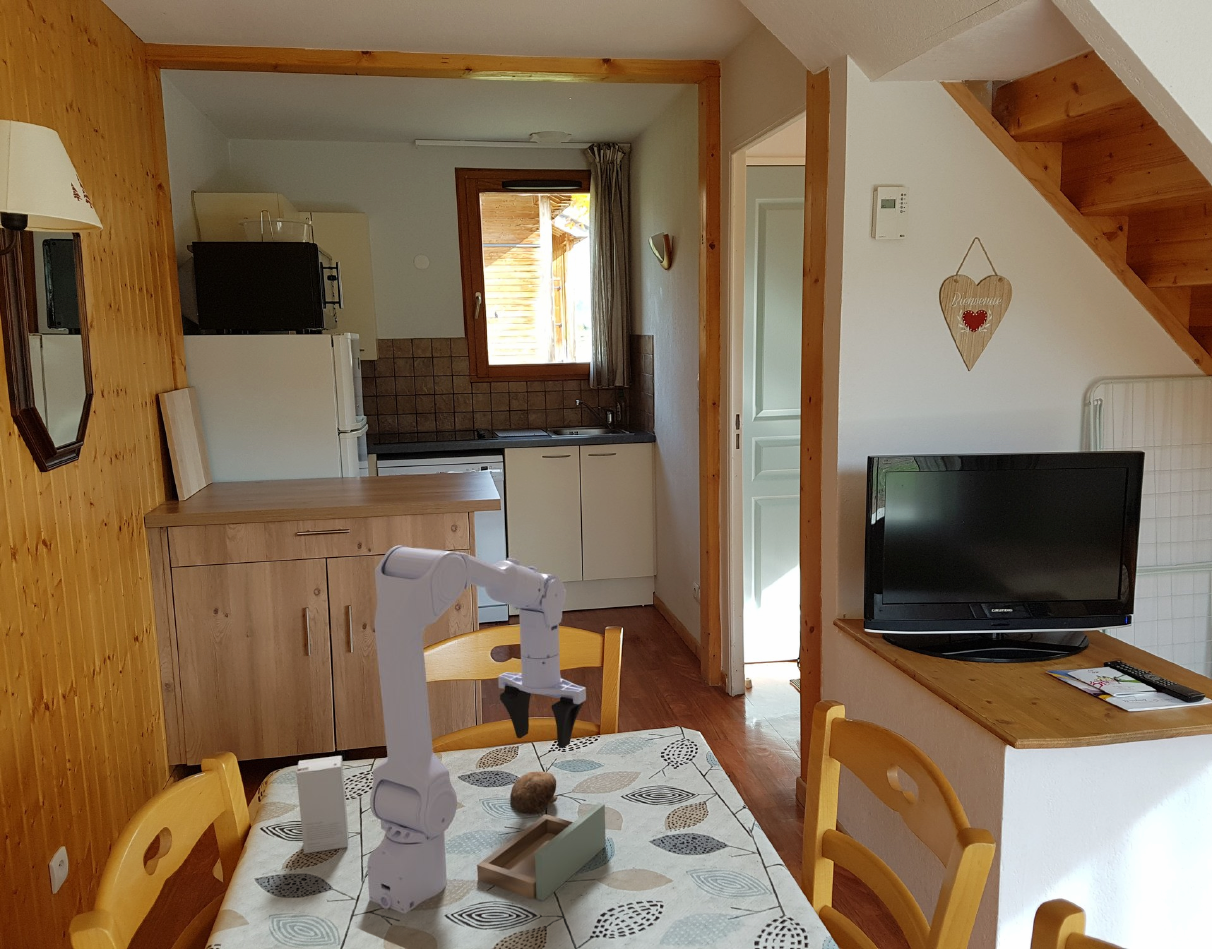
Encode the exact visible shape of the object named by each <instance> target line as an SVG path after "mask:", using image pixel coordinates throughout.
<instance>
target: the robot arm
mask: <svg viewBox="0 0 1212 949" xmlns="http://www.w3.org/2000/svg"><path fill="white" fill-rule="evenodd" d="M520 564H521V560H519V559H517V558H511V557H507V558H506V560H499V561H497V562H495V563H494V564H492V563H489V562H487V561H485V560H482V559H480V558H477V557H475V556H472V555H470V554H469V553H466V552H457V551H450V550H440V549H430V548H422V547H409V546H405V545H400V544H399V545H396V546H393V547H392V548H390V549H389V550H388V551H387V552H386V553H385V554H384V556H383V557H382V558H381V560H380V562H379V564H377V566H376V568H375V570H374V579H375V580H374V581H375V588H376V597H377V598H376V599H377V605H376V608H375V609H376V610H375V617H374V634H375V643H376V644H375V645H376V653H377V654H376V655H377V662H378V664H377V665H378V674H379V675H378V676H379V684H380V694H381V703H382V712H383V724H384V734H385V743H386V751H387V753H386V754H387V757H385V758H384V759H382V760H381V761H380V762H378V764H377V765H376V766H375V767H374V768H373V770H372V780H373V782H372V789H371V793H370V797H369V807H370V811H371V813H372V815H373V816H374V817H375V818H376V819H377V820H380V828H381V830H383V831H384V832H385V833H384V836H383V839H382V840H381V841H380V843H379V844H378V846H377V847H376V848H375V849H374V850H373V851H372V852H371V853H370V854H369V856H368V858H367V879H368V882H367V883H368V895H369V899H368V900H369V901H370V902H373V903H375V904H378V905H380V906H381V907H382V908H383V909H386V910H388V909H391V910H393V911H396V912H398V913H401V914H404V915H405V914H407V913H409V912H410V911H411V910H413V909H414V908H416V907H417V906H418V905H419V904H421V903H422V902H424V901H426V900H428V899H430V898H433V897H434V896H437V895H438V894H439V893H441V892H442V891H443V890H444V889H445V888H446V886H447V883H448V882H447V878H448V877H447V876H448V875H447V862H446V861H447V858H446V838H445V836H446V835H445V832H446V831H447V829H449V827H450V825H451V824H452V822H453V821H454V818H455V815H456V814H457V808H458V797H457V792H456V790H455V788H454V787H453V785H452V783H451V778H450V771H449V769H448V768H447V767H446V765H445V764H444V763H443V762H442V761H441V760H440V759H439V757H437V755H436V754H435V753H434V751H433V739H432V737H433V736H432V726H431V716H430V707H429V706H430V705H429V695H428V685H427V682H428V681H427V673H426V672H427V671H426V663H425V662H426V661H425V652H424V650H425V649H424V640H423V632H424V630H425V629H426V628H427V627H428V626H431V625H434V624H435V623H436V622H437V621H438V620H439V619H440V617H441V616H443V615H444V613H446V611H447V610H448V609H449V608H451V607H452V606H453V605H454V603H455V602H456V601H457V600H458V599H459V597H460V596H461V595H462V593H463V592H464V590H467V589H469V587H470V585H471V586H472V585H473V586H477V587H480V588H484V590H485V592H486V594H487V596H488V597H489V598H490V599H491V600H493V601H496V602H499V603H502V604H505V605H509V606H512V608H513V609H514V610H515V611H517V610H519V612H518V614H519V638H520V641H519V642H520V666H521V668H520V669H521V672H520V673H517V672H509V671H506V672H503V673H501V674H499V675H498V676H497V679H498V680H497V681H498V688H499V689H504V690H503V692H502V693H500V694H499V700H500V701H501V704H503V705H504V707H505V709H506V711H507V712H508V716H509V717H510V721H511V723H512V725H513V729H514V733H515V736H516V738H517V739H522V738H523V737H525V736H526V735H528V734H529V728H530V720H529V719H530V716H529V712H530V711H529V710H530V701H531V700H530V699H531V695H532V694H535V695H542V696H547V697H552V698H555V699H559V700H558V701H557V702H555V703H553V704H552V705H551V706H550V707H551V710H552V712H553V717H554V721H555V725H556V740H557V746H558V749H564V748H566V747H567V746H569V745H570V744H571V738H572V735H573V730H574V727H575V723H576V720H577V717H578V715H579V713H580V711H581V709H582V706H583V705H584V703H585V701H586V700H587V687H585V686H582V685H577V684H575V683H573V682H571V681H569V680H566V679H564V678H562V674H561V664H560V663H561V662H560V660H561V659H560V656H561V654H560V627H559V626H560V625H559V624H560V623H562V619H563V608H564V605H565V602H566V597H567V589H565V585H564V582H563V581H562V580H561V579H560V578H559V577H558V576H557V575H555V574H548V573H540V572H538V571H539V569H538V568H537V567H535V566H530V565H529V566H527V567H526V566H523V565H520Z"/></svg>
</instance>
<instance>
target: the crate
mask: <svg viewBox="0 0 1212 949" xmlns="http://www.w3.org/2000/svg"><path fill="white" fill-rule="evenodd" d="M573 822H574V821H570V820H566V819H564V818H560V817H557V816H553V815H550V814H543V815H542V816H541V817H539V818H538V819H537V820H535V821H534V822H533V823H531V824H530V825H529V826H527V827H526V828H524V829H523V830H522V831H520V832H519V833H518V834H517V835H515V836H514V837H513V838H511V839H510V840H509V841H507V842H506V843H504V844H503V845H502V846H501V847H499V848H497V850H495V851H494V852H492V853H491V854H490V855H488V856H487V857H486V858H485V859H483V860H482V861H480V862H479V863H478V864H477V865H476V868H477V872H476V873H477V881H480V882H483V883H486V884H488V885H490V886H494V887H497V888H500V889H502V890H505V891H509V892H511V893H515V894H517V895H519V896H523V897H526V898H528V899H531V900H535V899H537V896H536V868H535V852H537V851H538V850H539V849H540V848H542V847H543V846H544V845H545V844H547V843H548V842H549V841H550V840H552V839H553V838H554V837H555V836H557V835H558V834H559V833H560V832H562V831H563V830H564V829H566V828H567V827H568V826H569V825H571V824H572V823H573Z"/></svg>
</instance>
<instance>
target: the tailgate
mask: <svg viewBox="0 0 1212 949" xmlns="http://www.w3.org/2000/svg"><path fill="white" fill-rule="evenodd" d="M605 806H606V805H605V803H602V802H597V803H596V804H594V805H593V806H592V807H590V809H588V810H587V811H585V813H583V814H582V815H581V816H579V817H578V818H577V819H576V820H574V821H572V822H573V823H572V824H571V825H569V826H568V827H567V828H566V829H564V830H563V831H562V832H560V833H559V834H558V835H557V836H555V837H554V838H553V839H552V840H550V841H549V842H548V843H547V844H545V845H544V846H543V847H542V848H540V849H539V850H538V851H537V852H535V868H536V896H537V897H536V900H539V901H541V902H544V901H546V899H547V898H549V897H550V896H551V895H552V894H553V893H554V892H556V890H558V889H559V888H560V887H561V886H563V884H565V883H566V882H567V881H568V880H569V879H570V878H572V876H574V875H575V874H576V873H577V872H578V871H579V870H580V869H582V868H583V867H584V866H585V865H586V864H588V863H589V862H590V861H591V860H592V859H593V858H594V857H596V855H597V854H599V853H600V852H602V850H603V849H604V848H605V847H606V846H607V845H606V844H607V843H606V842H607V840H606V839H607V838H606V807H605Z"/></svg>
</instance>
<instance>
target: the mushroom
mask: <svg viewBox="0 0 1212 949" xmlns="http://www.w3.org/2000/svg"><path fill="white" fill-rule="evenodd" d="M556 790H557V780H556V777H555V776H554V775H553V774H552V773H551V772H547V771H530V772H527V773H526V774H524V775H522V776H520V777H519V778H518V779H516V780H515V782H514V784H513V785H512V788H511V792H510V796H509V798H510V805H511V806H512V808H513V809H514V810H515V811H517V812H518V813H520V814H524V815H537V814H541V813H543V812H544V811H545V809H547V807H549V805H550V804H553V803H554V802H555V801H557V798H558V796H557V795H555V794H556Z"/></svg>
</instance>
